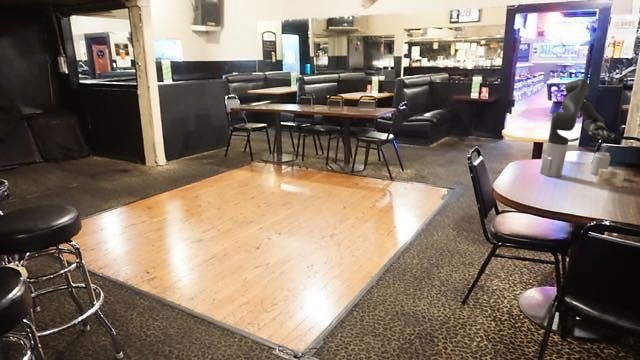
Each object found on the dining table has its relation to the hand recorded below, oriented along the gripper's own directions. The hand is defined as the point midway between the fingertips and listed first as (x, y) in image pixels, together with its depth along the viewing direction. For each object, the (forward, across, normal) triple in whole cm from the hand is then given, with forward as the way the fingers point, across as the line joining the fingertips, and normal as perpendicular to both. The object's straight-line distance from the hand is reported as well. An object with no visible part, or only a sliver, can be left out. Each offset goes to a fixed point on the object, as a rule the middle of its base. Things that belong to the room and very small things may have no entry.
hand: (604, 138), depth 227 cm
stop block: (+29, +1, +16) cm, 33 cm away
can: (+10, 0, +18) cm, 21 cm away
